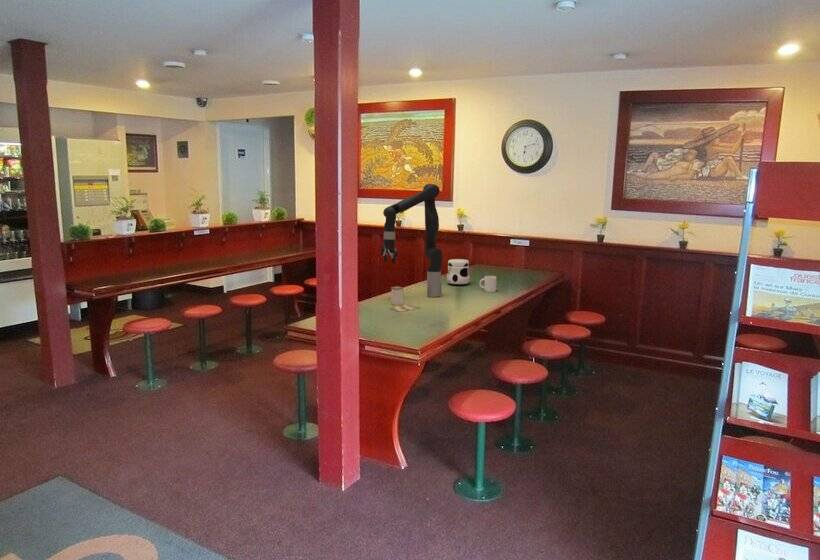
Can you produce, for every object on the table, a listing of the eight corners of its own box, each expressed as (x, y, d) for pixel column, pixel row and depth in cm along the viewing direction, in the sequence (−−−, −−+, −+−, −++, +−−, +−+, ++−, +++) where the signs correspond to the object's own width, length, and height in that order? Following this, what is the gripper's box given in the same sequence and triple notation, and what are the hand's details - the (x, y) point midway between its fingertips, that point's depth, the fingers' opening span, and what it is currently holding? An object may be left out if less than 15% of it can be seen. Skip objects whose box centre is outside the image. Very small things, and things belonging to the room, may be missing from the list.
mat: (407, 304, 367) (407, 304, 367) (419, 308, 358) (419, 307, 358) (387, 308, 357) (387, 308, 357) (399, 312, 348) (399, 311, 348)
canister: (397, 302, 373) (397, 286, 371) (403, 304, 368) (402, 287, 366) (391, 303, 369) (391, 287, 367) (396, 305, 365) (396, 288, 363)
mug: (477, 291, 406) (478, 277, 404) (480, 289, 414) (480, 275, 412) (494, 292, 402) (495, 278, 400) (497, 290, 410) (497, 276, 408)
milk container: (442, 283, 436) (442, 259, 433) (462, 281, 443) (462, 258, 440) (453, 287, 421) (454, 263, 417) (474, 285, 428) (474, 261, 425)
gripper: (400, 239, 372) (400, 263, 375) (387, 236, 383) (387, 261, 386) (391, 239, 367) (391, 264, 370) (378, 237, 378) (378, 262, 381)
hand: (389, 262), depth 378 cm, fingers open, 8 cm apart
